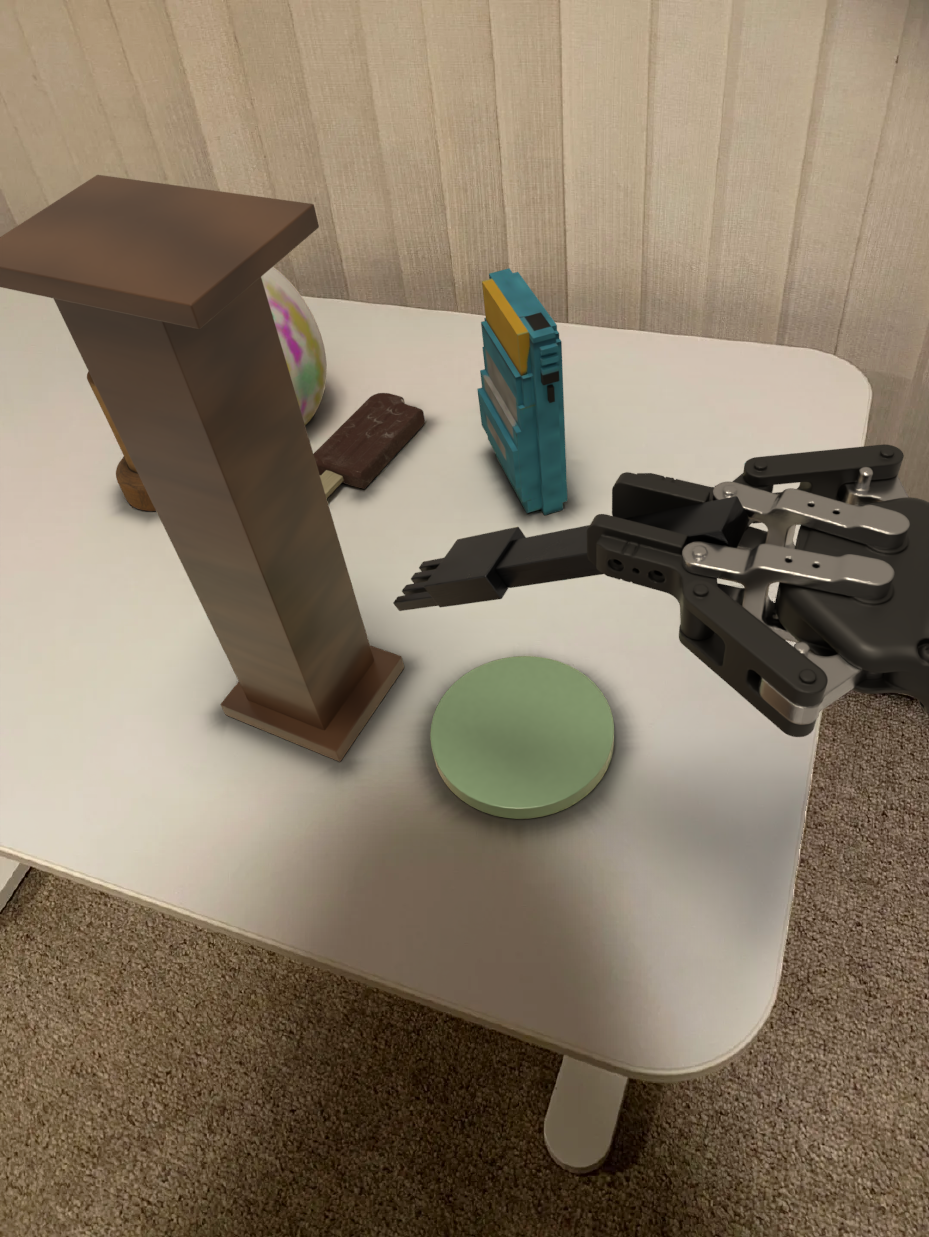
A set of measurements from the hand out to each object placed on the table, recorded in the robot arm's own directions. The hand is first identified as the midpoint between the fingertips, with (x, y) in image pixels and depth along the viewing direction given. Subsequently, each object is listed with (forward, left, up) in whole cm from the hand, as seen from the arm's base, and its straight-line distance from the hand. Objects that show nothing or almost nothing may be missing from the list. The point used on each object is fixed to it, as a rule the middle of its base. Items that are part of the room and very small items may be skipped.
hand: (604, 517), depth 36 cm
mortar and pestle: (+13, +44, -22) cm, 51 cm away
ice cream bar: (+21, +30, -22) cm, 43 cm away
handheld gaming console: (+24, +16, -22) cm, 36 cm away
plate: (+2, +6, -22) cm, 23 cm away
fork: (0, +2, -4) cm, 5 cm away
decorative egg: (+24, +41, -22) cm, 52 cm away
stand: (0, +20, -22) cm, 30 cm away
